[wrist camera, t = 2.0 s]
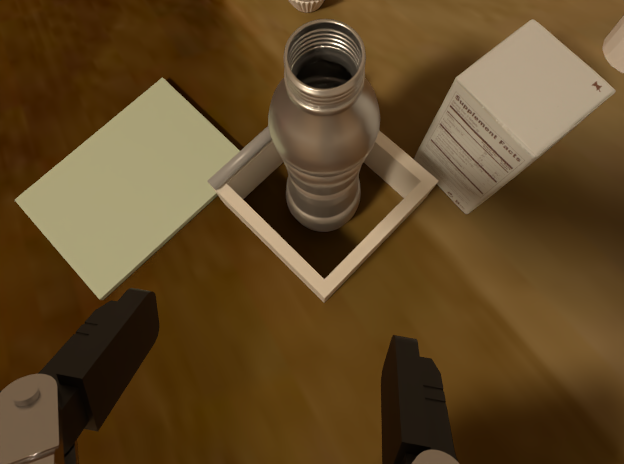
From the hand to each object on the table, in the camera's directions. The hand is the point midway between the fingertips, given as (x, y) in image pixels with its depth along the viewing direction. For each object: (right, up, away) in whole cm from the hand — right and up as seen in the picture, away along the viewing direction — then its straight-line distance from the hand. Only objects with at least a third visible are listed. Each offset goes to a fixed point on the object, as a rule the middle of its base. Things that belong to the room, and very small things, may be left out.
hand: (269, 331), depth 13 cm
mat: (-15, +8, +24) cm, 30 cm away
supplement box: (+16, +10, +24) cm, 30 cm away
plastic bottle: (+2, +6, +23) cm, 24 cm away
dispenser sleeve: (+2, +6, +23) cm, 24 cm away
